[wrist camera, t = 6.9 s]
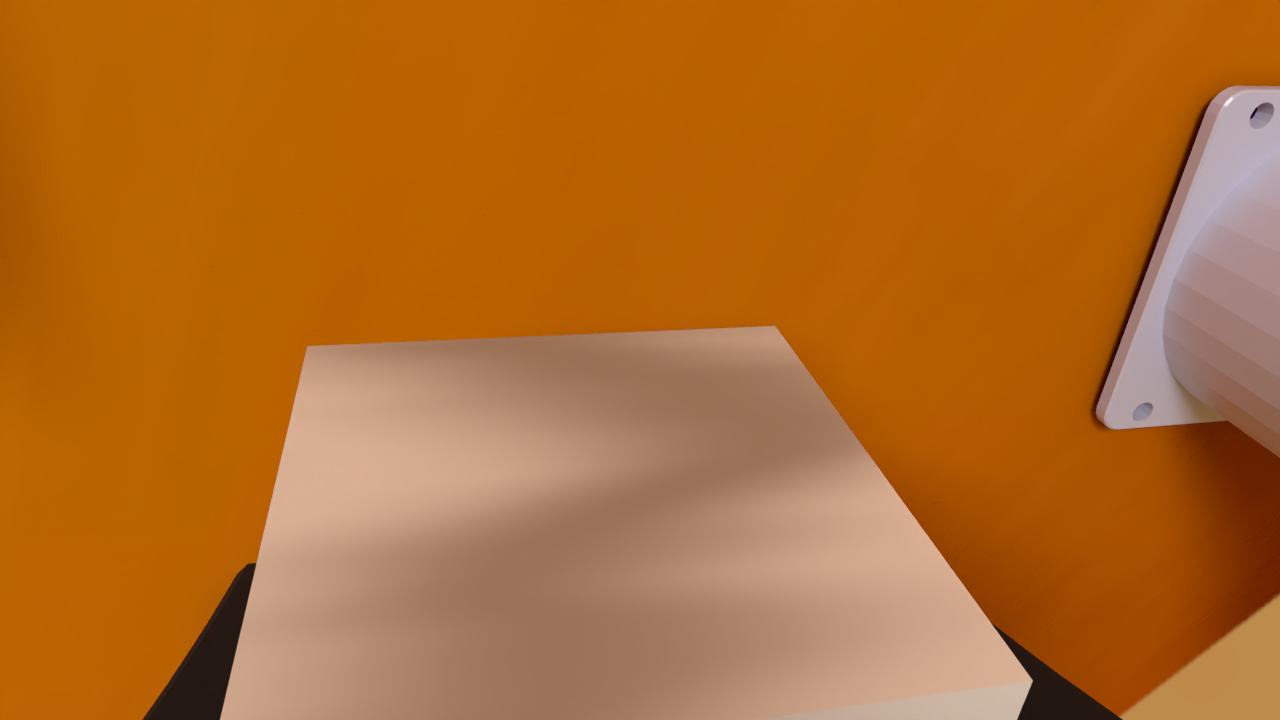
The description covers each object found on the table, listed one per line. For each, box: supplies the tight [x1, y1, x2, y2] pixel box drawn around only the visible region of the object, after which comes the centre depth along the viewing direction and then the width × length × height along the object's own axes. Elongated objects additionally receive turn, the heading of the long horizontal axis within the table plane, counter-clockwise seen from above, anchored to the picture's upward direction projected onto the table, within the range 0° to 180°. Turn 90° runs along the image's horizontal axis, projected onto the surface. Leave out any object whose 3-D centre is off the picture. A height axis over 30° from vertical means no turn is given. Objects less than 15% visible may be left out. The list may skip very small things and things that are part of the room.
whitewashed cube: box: [220, 326, 1033, 720], centre depth 9 cm, size 5×5×5 cm
